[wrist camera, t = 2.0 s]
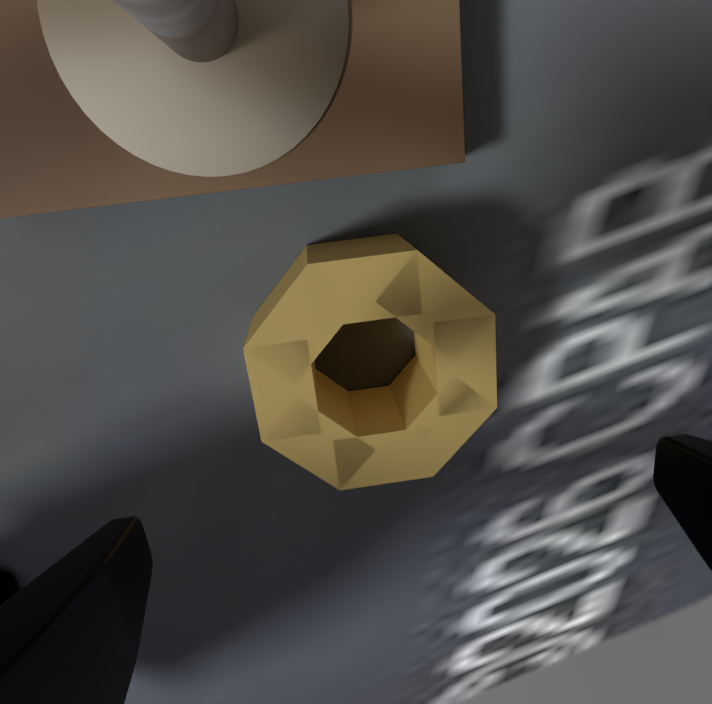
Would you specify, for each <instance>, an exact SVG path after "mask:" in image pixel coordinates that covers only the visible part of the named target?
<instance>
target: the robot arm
mask: <svg viewBox="0 0 712 704" xmlns="http://www.w3.org/2000/svg"><path fill="white" fill-rule="evenodd" d="M653 479H654V484H655V487H656V490H657V491H658V493H659V495H660V496H661V498H662V499H663V501H664V502H665V504H666V505H667V507H668V508H669V510H670V511H671V513H672V514H673V516H674V517H675V519H676V520H677V522H678V523H679V524H680V526H681V527H682V529H683V530H684V532H685V533H686V535H687V536H688V538H689V539H690V541H691V542H692V544H693V545H694V547H695V548H696V550H697V551H698V553H699V554H700V556H701V557H702V558H703V560H704V561H705V563H706V564H707V565H708V567H709V568H710V569H711V571H712V441H709V440H706V439H702V438H699V437H695V436H692V435H688V434H675V435H669V436H663V437H661V438H660V439H659V440H658V442H657V445H656V454H655V464H654V474H653ZM152 567H153V562H152V555H151V551H150V548H149V545H148V541H147V538H146V535H145V532H144V528H143V525H142V522H141V521H140V519H139V518H138V517H136V516H131V517H125V518H118V519H113V520H111V521H109V522H108V523H107V524H106V525H104V526H103V527H102V528H100V529H99V530H98V531H96V532H95V533H94V534H93V535H91V536H90V537H89V538H87V539H86V540H85V541H83V542H82V543H81V544H80V545H78V546H77V547H76V548H74V549H73V550H72V551H70V552H69V553H68V554H67V555H65V556H64V557H63V558H61V559H60V560H59V561H57V562H56V563H55V564H54V565H52V566H51V567H50V568H48V569H47V570H46V571H44V572H43V573H42V574H41V575H39V576H38V577H37V578H35V579H34V580H33V581H31V582H30V583H29V584H28V585H26V586H25V587H24V588H22V589H21V590H20V588H19V586H18V584H17V581H16V579H15V578H14V576H13V575H12V574H10V573H9V572H6V571H3V570H0V587H1V588H0V704H124V702H125V699H126V695H127V692H128V688H129V685H130V681H131V678H132V674H133V670H134V667H135V663H136V659H137V654H138V649H139V644H140V638H141V632H142V627H143V621H144V615H145V609H146V603H147V598H148V592H149V586H150V580H151V575H152Z"/></svg>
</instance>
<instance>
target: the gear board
mask: <svg viewBox="0 0 712 704" xmlns="http://www.w3.org/2000/svg"><path fill="white" fill-rule="evenodd" d="M462 162H465V144H464V117H463V89H462V62H461V35H460V7H459V0H0V218H7V217H15V216H23V215H31V214H40V213H48V212H56V211H65V210H73V209H81V208H89V207H98V206H106V205H114V204H123V203H131V202H139V201H147V200H156V199H164V198H172V197H181V196H189V195H197V194H205V193H214V192H222V191H230V190H239V189H247V188H255V187H263V186H272V185H280V184H288V183H297V182H305V181H313V180H321V179H330V178H338V177H346V176H355V175H363V174H371V173H379V172H388V171H396V170H404V169H413V168H421V167H429V166H437V165H446V164H454V163H462Z"/></svg>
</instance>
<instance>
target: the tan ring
mask: <svg viewBox="0 0 712 704" xmlns="http://www.w3.org/2000/svg"><path fill="white" fill-rule="evenodd" d="M395 317H396V318H397V319H399V320H400V321H401V322H402V323H404V324H405V325H406V326H408V327H409V328H410V329H412V330H413V331H414V342H415V356H414V357H413V358H412V359H411V361H410V362H409V363H408V364H407V365H406V366H405V368H404V369H403V370H402V371H401V372H400V373H399V375H398V376H397V377H396V378H395V379H394V380H393V382H392V383H391V384H390V385H389V386H383V387H376V388H369V389H362V390H355V391H347V390H346V389H344V388H343V387H341V386H340V385H338V384H337V383H336V382H334V381H333V380H331V379H330V378H328V377H327V376H325V375H324V374H323V373H321V372H320V371H318V370H317V369H316V368H315V362H314V360H315V359H316V357H317V356H318V355H319V354H320V353H321V351H322V350H323V349H324V348H325V346H326V345H327V344H328V343H329V341H330V340H331V339H332V338H333V336H334V335H335V334H336V333H337V331H338V330H339V329H340V328H341V326H342V325H343V324H350V323H357V322H365V321H372V320H380V319H387V318H395ZM243 351H244V356H245V361H246V366H247V371H248V376H249V381H250V386H251V391H252V396H253V401H254V406H255V411H256V416H257V422H258V427H259V432H260V437H261V442H263V443H264V444H266V445H268V446H269V447H271V448H272V449H274V450H276V451H277V452H279V453H280V454H282V455H284V456H285V457H287V458H288V459H290V460H292V461H293V462H295V463H297V464H298V465H300V466H301V467H303V468H305V469H306V470H308V471H309V472H311V473H313V474H314V475H316V476H317V477H319V478H321V479H322V480H324V481H325V482H327V483H329V484H330V485H332V486H334V487H335V488H337V489H338V490H347V489H354V488H360V487H367V486H374V485H380V484H387V483H394V482H401V481H407V480H414V479H421V478H427V477H433V476H434V475H435V474H436V473H437V472H438V471H439V470H440V469H441V468H442V467H443V466H444V465H445V463H446V462H447V461H448V460H449V459H450V458H451V457H452V456H453V455H454V454H455V453H456V452H457V450H458V449H459V448H460V447H461V446H462V445H463V444H464V443H465V442H466V441H467V440H468V439H469V438H470V436H471V435H472V434H473V433H474V432H475V431H476V430H477V429H478V428H479V427H480V426H481V425H482V424H483V422H484V421H485V420H486V419H487V418H488V417H489V416H490V415H491V414H492V413H493V412H494V411H495V410H496V408H497V378H496V327H495V314H494V313H493V312H492V311H491V310H489V309H488V308H487V307H486V306H484V305H483V304H482V303H481V302H480V301H478V300H477V299H476V298H475V297H474V296H472V295H471V294H470V293H469V292H468V291H466V290H465V289H464V288H463V287H461V286H460V285H459V284H458V283H457V282H455V281H454V280H453V279H452V278H451V277H449V276H448V275H447V274H446V273H445V272H443V271H442V270H441V269H440V268H438V267H437V266H436V265H435V264H434V263H432V262H431V261H430V260H429V259H428V258H426V257H425V256H424V255H423V254H422V253H420V252H419V251H418V250H417V249H416V248H414V247H413V246H412V245H411V244H409V243H408V242H407V241H406V240H404V239H403V238H402V237H401V236H399V235H398V234H389V235H381V236H373V237H365V238H357V239H349V240H342V241H334V242H326V243H318V244H310V245H306V247H305V248H304V249H303V250H302V252H301V253H300V254H299V256H298V257H297V258H296V260H295V261H294V262H293V264H292V265H291V266H290V268H289V269H288V270H287V272H286V273H285V274H284V276H283V277H282V278H281V280H280V281H279V282H278V284H277V285H276V286H275V288H274V289H273V290H272V292H271V293H270V294H269V295H268V297H267V298H266V299H265V301H264V302H263V303H262V305H261V306H260V307H259V309H258V310H257V311H256V313H255V314H254V315H253V318H252V322H251V325H250V328H249V331H248V334H247V337H246V341H245V344H244V347H243Z"/></svg>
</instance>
